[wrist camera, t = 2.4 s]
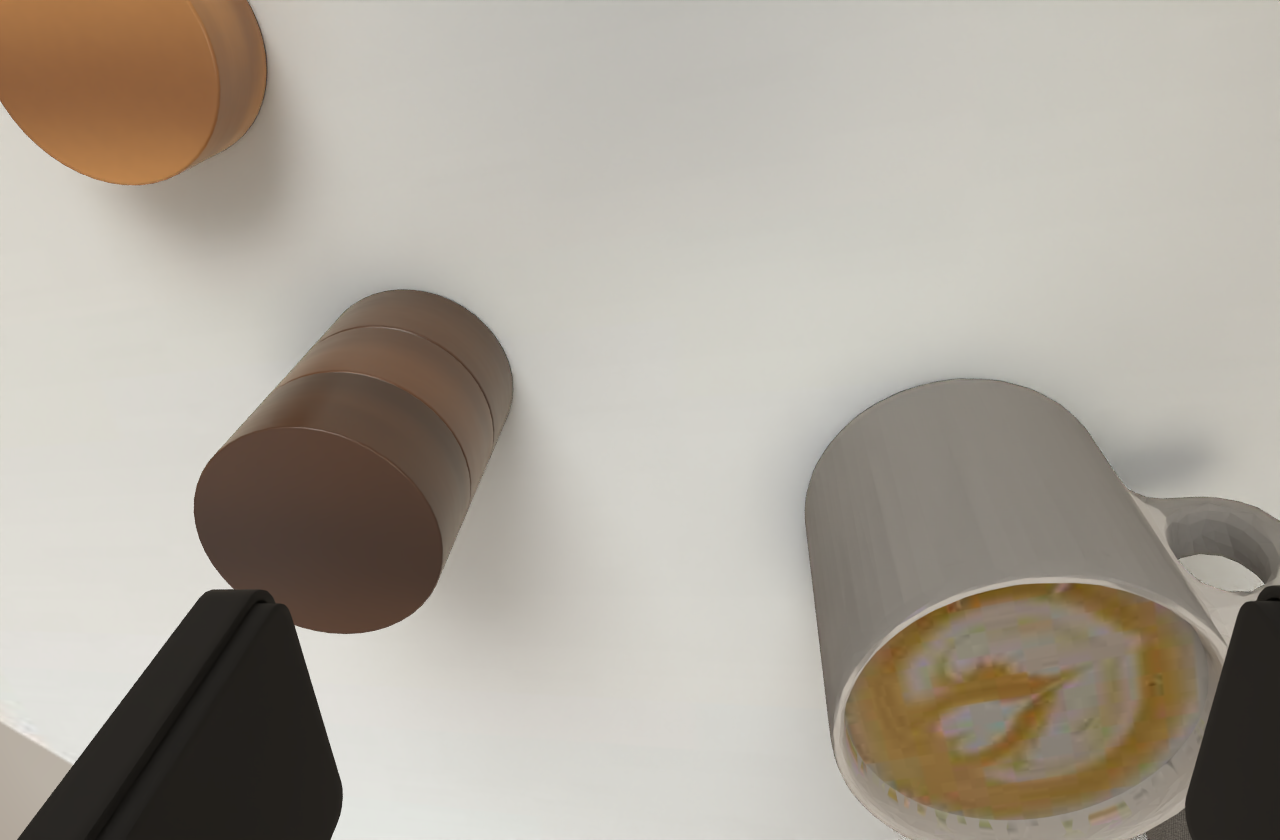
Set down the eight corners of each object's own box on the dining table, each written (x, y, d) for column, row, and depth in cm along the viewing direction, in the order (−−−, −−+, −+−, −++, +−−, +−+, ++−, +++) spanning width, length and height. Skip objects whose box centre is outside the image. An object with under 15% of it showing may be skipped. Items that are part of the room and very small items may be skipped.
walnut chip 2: (275, 317, 28) (228, 361, 26) (491, 335, 28) (466, 381, 25) (301, 499, 31) (261, 555, 29) (496, 517, 31) (474, 575, 28)
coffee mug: (804, 623, 36) (828, 860, 27) (804, 383, 31) (833, 577, 22) (1185, 619, 34) (1340, 869, 26) (1245, 367, 30) (1460, 568, 21)
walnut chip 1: (313, 280, 31) (275, 317, 28) (512, 296, 31) (491, 335, 28) (334, 452, 34) (301, 499, 31) (514, 468, 34) (496, 517, 31)
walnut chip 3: (228, 361, 26) (171, 415, 23) (466, 381, 25) (436, 439, 23) (261, 555, 29) (214, 622, 26) (474, 575, 28) (448, 645, 26)
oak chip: (20, -86, 26) (-58, -82, 24) (250, -71, 26) (196, -67, 23) (75, 151, 29) (11, 177, 27) (281, 166, 29) (236, 194, 27)
